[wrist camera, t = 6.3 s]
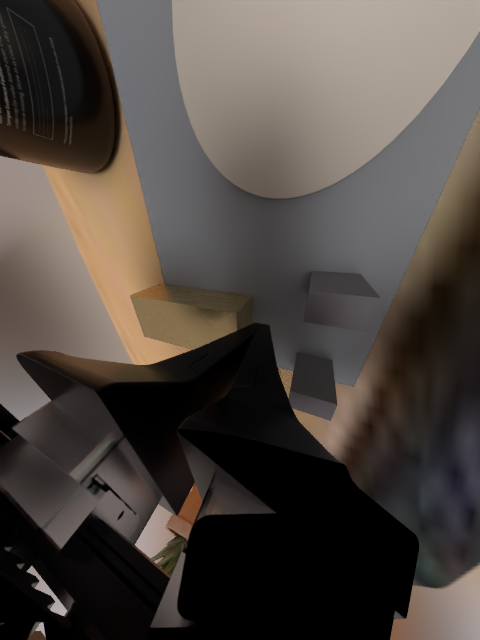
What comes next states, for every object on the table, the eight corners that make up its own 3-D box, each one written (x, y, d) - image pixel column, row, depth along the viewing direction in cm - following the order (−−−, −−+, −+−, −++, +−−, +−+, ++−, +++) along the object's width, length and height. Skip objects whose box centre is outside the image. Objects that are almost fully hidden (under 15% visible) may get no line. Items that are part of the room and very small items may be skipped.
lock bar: (252, 338, 11) (238, 361, 9) (169, 320, 14) (144, 336, 12) (252, 295, 10) (236, 312, 8) (159, 284, 12) (129, 295, 10)
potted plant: (233, 511, 36) (129, 860, 16) (198, 493, 40) (81, 754, 21) (220, 488, 32) (63, 911, 12) (182, 471, 36) (20, 767, 17)
